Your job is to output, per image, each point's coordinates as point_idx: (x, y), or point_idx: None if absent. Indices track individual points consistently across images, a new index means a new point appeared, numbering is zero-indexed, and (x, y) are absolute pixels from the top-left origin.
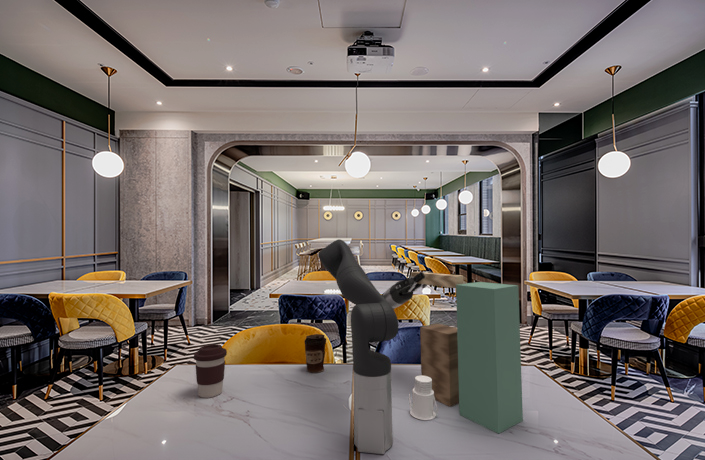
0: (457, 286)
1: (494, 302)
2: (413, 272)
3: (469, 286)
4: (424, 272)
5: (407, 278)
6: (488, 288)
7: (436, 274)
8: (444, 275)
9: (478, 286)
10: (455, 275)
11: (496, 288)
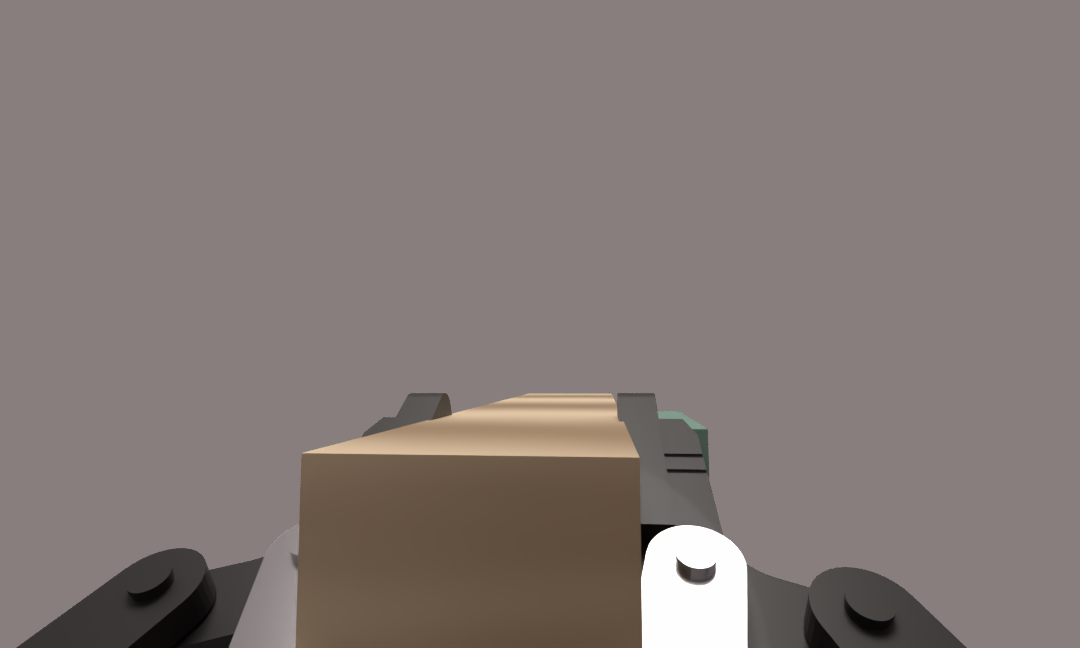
0: (705, 437)
1: None
2: (621, 443)
3: (693, 421)
4: (456, 423)
5: (901, 596)
6: (681, 413)
7: (597, 403)
8: (613, 398)
9: (665, 417)
10: (555, 395)
11: (658, 411)
